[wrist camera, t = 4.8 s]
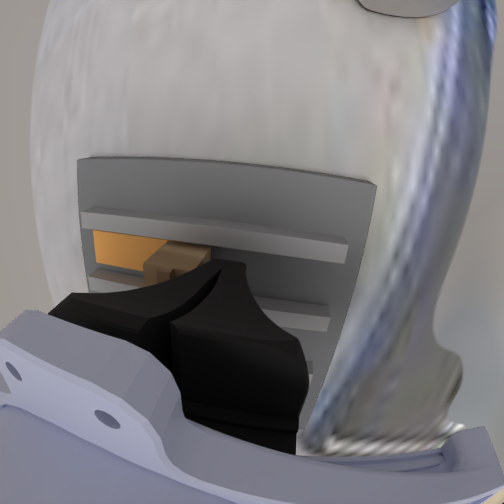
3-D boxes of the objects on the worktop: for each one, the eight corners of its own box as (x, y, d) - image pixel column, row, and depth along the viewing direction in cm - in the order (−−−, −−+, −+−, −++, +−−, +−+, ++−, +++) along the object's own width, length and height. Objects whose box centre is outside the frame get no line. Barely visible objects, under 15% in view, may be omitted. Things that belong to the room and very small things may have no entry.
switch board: (304, 416, 18) (304, 440, 16) (120, 378, 19) (107, 397, 17) (369, 181, 12) (384, 189, 10) (90, 157, 13) (64, 162, 11)
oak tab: (209, 287, 13) (190, 324, 11) (168, 280, 13) (142, 313, 11) (211, 246, 12) (189, 276, 10) (167, 240, 13) (138, 267, 10)
